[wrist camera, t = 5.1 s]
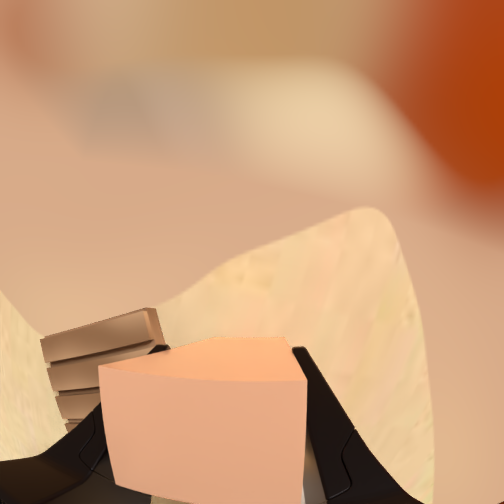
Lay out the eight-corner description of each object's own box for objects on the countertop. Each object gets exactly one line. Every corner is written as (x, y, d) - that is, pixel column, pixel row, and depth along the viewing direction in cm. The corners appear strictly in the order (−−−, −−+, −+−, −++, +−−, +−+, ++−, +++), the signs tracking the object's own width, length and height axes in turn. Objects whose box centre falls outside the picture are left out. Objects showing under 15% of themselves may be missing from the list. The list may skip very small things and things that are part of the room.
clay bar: (284, 388, 14) (300, 508, 4) (214, 387, 15) (115, 483, 4) (284, 337, 15) (306, 380, 4) (213, 337, 15) (98, 365, 5)
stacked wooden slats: (196, 432, 15) (187, 444, 13) (88, 439, 16) (74, 447, 13) (155, 308, 18) (141, 307, 16) (56, 336, 18) (39, 336, 16)
